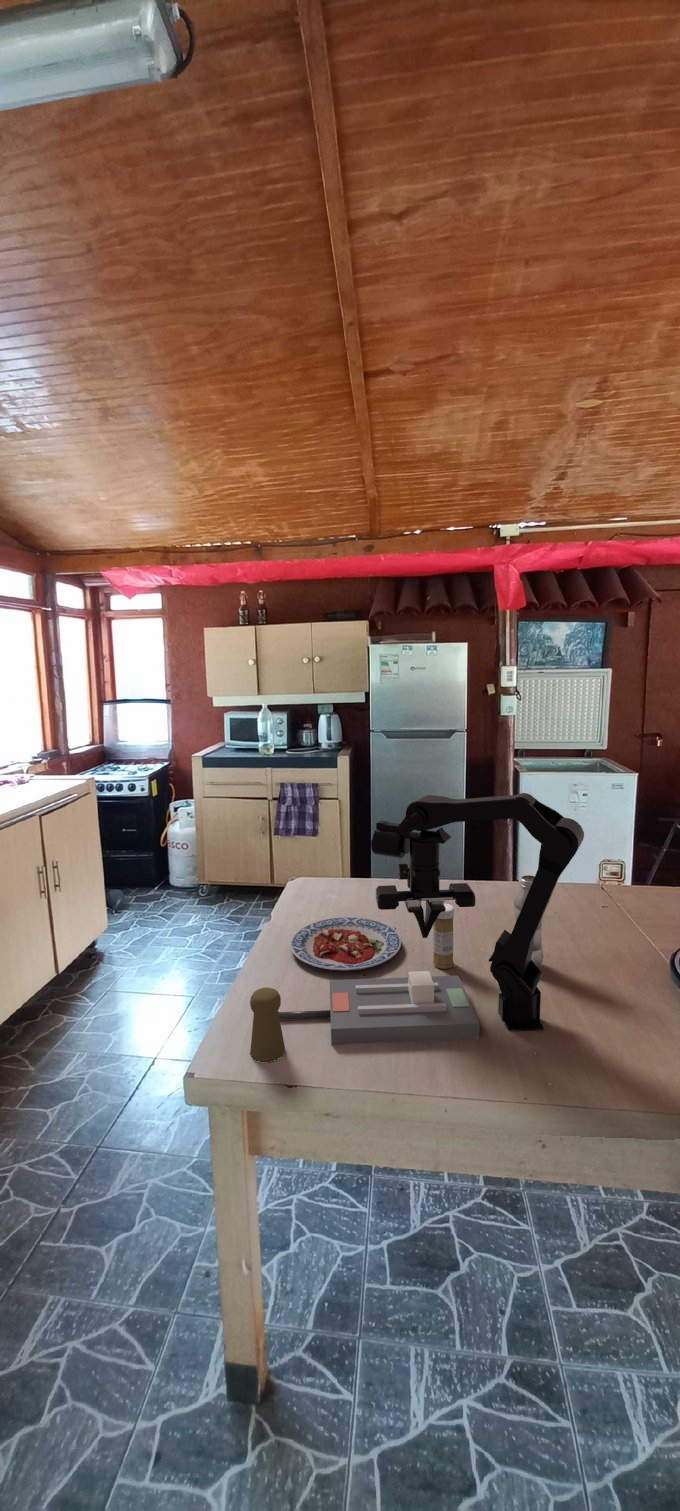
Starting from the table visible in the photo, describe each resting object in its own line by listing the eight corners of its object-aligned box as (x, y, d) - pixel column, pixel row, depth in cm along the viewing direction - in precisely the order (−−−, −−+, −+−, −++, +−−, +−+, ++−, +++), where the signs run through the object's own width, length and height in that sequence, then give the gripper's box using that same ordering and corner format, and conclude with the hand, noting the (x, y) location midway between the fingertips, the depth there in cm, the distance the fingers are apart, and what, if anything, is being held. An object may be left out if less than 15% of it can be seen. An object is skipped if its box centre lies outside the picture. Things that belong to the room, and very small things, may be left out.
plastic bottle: (506, 967, 127) (508, 879, 124) (520, 955, 132) (522, 870, 129) (534, 977, 123) (537, 886, 120) (548, 965, 128) (551, 877, 125)
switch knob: (429, 990, 113) (429, 970, 112) (434, 1005, 108) (434, 985, 107) (408, 991, 113) (408, 971, 112) (412, 1006, 108) (412, 985, 107)
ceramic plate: (273, 970, 128) (273, 958, 128) (310, 920, 153) (310, 910, 153) (389, 985, 122) (389, 972, 121) (409, 930, 146) (409, 919, 146)
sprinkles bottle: (451, 959, 131) (451, 902, 129) (455, 969, 127) (456, 910, 125) (430, 959, 131) (430, 902, 129) (434, 970, 127) (434, 911, 125)
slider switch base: (458, 989, 119) (458, 970, 118) (479, 1038, 103) (479, 1018, 103) (280, 995, 118) (279, 977, 117) (273, 1047, 102) (273, 1025, 102)
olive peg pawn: (268, 1035, 105) (265, 978, 104) (292, 1049, 102) (290, 990, 100) (242, 1053, 101) (239, 993, 99) (267, 1067, 97) (264, 1006, 95)
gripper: (462, 847, 122) (461, 918, 124) (372, 849, 121) (373, 921, 124) (476, 865, 111) (475, 942, 113) (378, 868, 110) (378, 946, 113)
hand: (424, 937), depth 116 cm, fingers closed
